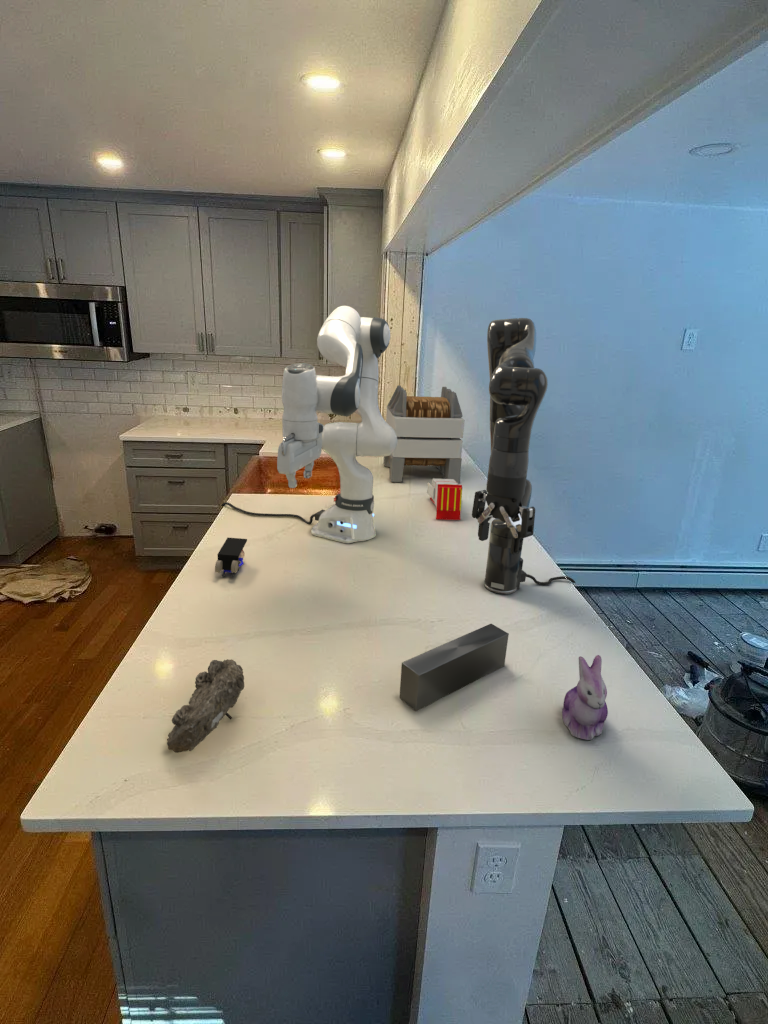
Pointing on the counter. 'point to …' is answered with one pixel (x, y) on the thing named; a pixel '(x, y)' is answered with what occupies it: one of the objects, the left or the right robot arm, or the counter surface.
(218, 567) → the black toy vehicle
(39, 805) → the counter surface
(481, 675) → the bar
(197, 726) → the fossil
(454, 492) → the toy
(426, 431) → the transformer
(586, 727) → the figurine
